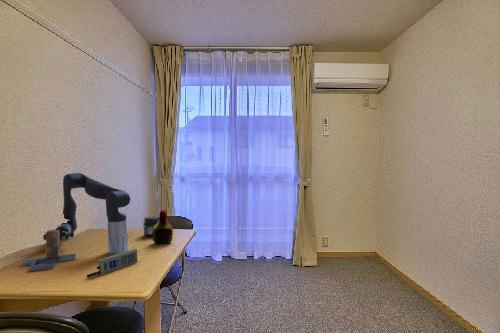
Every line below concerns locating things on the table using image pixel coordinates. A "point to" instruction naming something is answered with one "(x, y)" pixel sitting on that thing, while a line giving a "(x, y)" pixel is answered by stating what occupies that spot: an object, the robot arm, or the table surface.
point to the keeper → (46, 261)
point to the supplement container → (149, 225)
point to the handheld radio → (115, 262)
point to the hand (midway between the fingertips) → (56, 238)
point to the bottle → (162, 230)
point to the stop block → (52, 243)
